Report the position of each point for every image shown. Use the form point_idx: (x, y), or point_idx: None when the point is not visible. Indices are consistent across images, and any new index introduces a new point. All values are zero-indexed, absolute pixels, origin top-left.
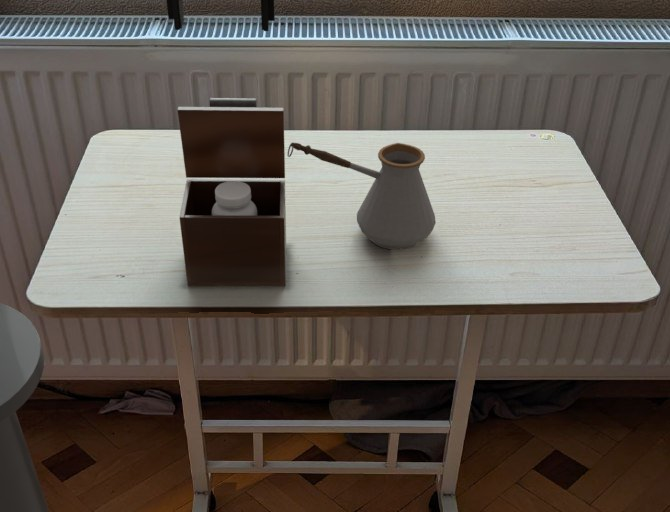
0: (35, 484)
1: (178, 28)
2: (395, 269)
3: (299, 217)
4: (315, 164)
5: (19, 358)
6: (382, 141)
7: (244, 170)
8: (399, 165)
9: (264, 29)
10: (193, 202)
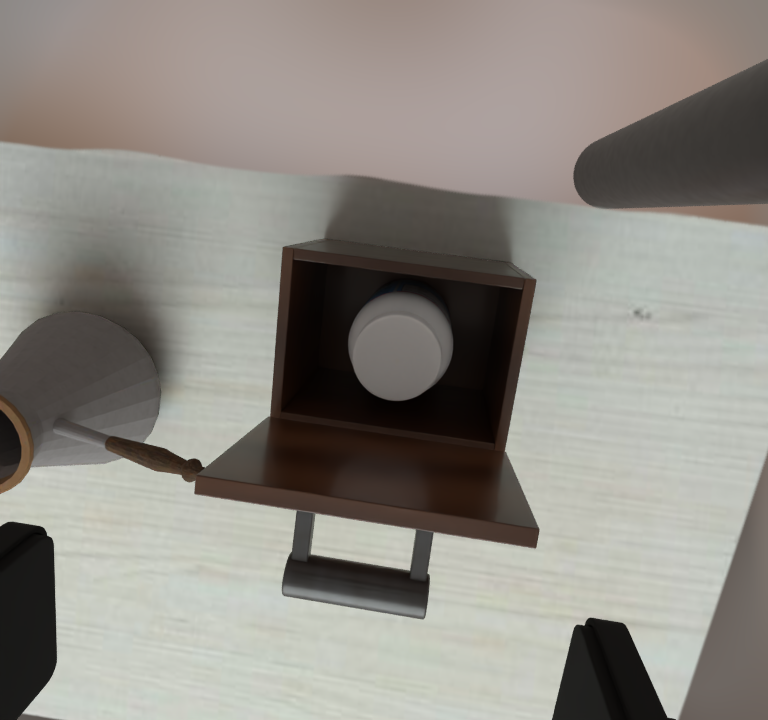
0: (737, 117)
1: (599, 620)
2: (112, 268)
3: None
4: (232, 636)
5: None
6: (101, 692)
7: (360, 436)
8: None
9: (30, 527)
10: (489, 422)
